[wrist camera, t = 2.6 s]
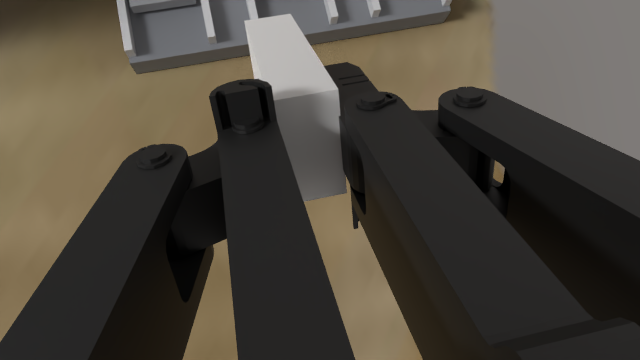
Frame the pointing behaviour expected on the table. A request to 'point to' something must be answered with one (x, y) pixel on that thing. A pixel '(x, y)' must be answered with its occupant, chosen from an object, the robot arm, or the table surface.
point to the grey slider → (157, 4)
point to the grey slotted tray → (253, 3)
